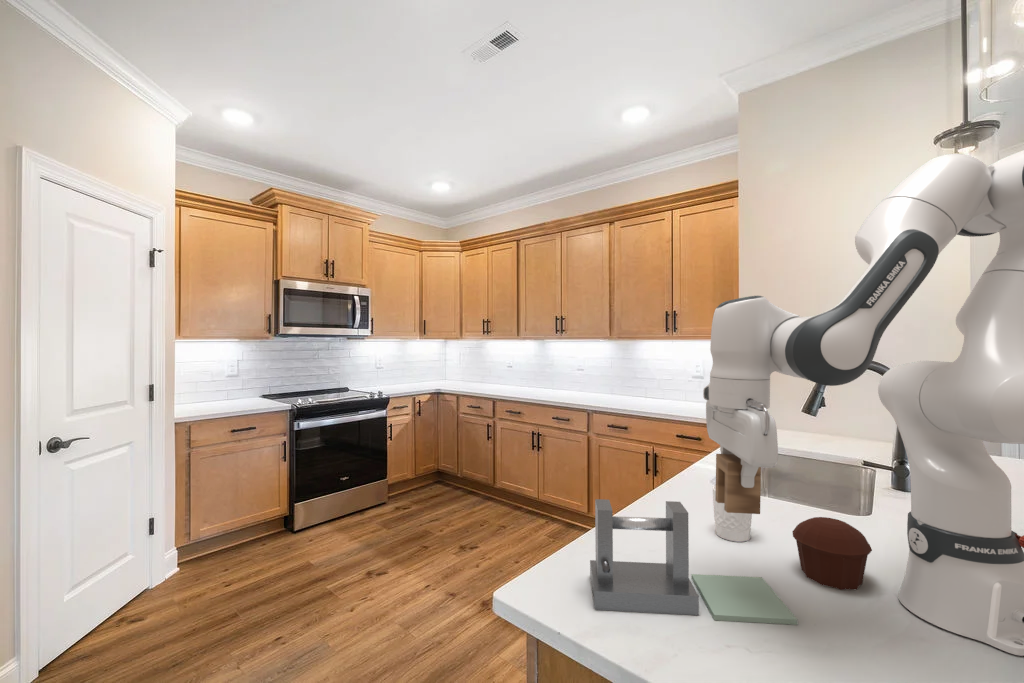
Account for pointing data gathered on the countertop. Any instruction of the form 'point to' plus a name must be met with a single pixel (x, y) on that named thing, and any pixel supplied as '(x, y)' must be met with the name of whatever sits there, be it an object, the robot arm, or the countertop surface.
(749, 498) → the wooden block
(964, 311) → the robot arm
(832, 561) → the muffin
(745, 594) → the mat
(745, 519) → the white cup
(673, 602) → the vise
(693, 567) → the countertop surface
